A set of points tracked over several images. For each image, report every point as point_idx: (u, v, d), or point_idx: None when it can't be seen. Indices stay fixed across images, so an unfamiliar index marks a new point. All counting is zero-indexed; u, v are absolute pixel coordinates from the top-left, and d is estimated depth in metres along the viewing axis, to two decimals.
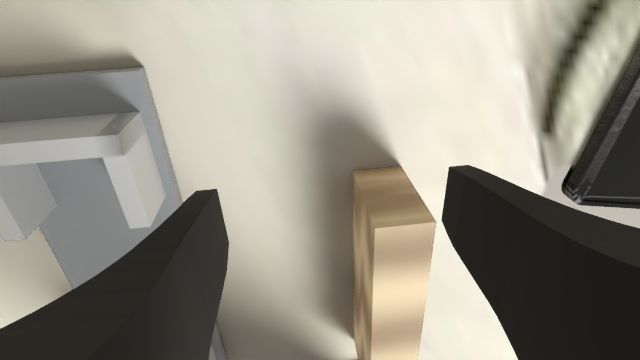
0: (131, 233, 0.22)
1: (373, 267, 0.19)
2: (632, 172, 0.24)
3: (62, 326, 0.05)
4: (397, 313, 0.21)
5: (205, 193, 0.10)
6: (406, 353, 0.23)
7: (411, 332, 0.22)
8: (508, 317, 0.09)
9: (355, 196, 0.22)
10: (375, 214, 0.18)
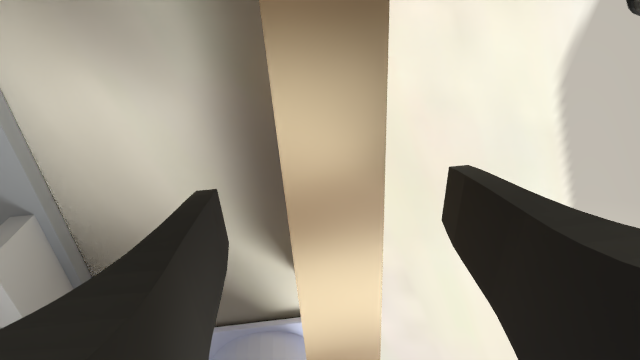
0: None
1: (263, 25, 0.09)
2: None
3: (62, 326, 0.05)
4: (331, 158, 0.10)
5: (205, 193, 0.10)
6: (359, 255, 0.12)
7: (364, 208, 0.11)
8: (508, 317, 0.09)
9: None
10: None
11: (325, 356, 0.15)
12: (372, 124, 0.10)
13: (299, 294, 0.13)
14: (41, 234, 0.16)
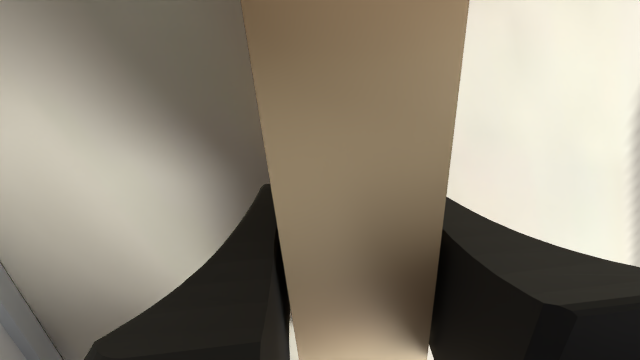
0: None
1: (251, 59, 0.05)
2: None
3: (206, 310, 0.05)
4: (359, 250, 0.07)
5: None
6: None
7: (404, 311, 0.08)
8: None
9: None
10: None
11: None
12: (424, 203, 0.06)
13: None
14: None
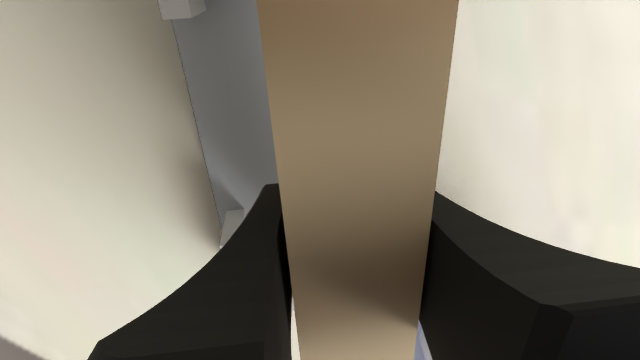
0: None
1: (263, 49, 0.06)
2: None
3: (209, 309, 0.05)
4: (355, 228, 0.07)
5: (277, 186, 0.10)
6: (385, 342, 0.09)
7: (396, 288, 0.08)
8: (428, 327, 0.09)
9: None
10: None
11: None
12: (416, 186, 0.07)
13: None
14: None
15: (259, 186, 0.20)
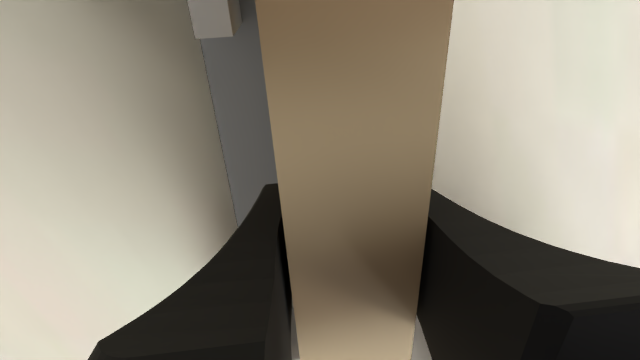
0: None
1: (262, 48, 0.06)
2: None
3: (209, 309, 0.05)
4: (353, 225, 0.08)
5: (277, 186, 0.10)
6: (383, 338, 0.09)
7: (393, 284, 0.09)
8: (428, 327, 0.09)
9: None
10: None
11: None
12: (413, 183, 0.07)
13: None
14: None
15: None
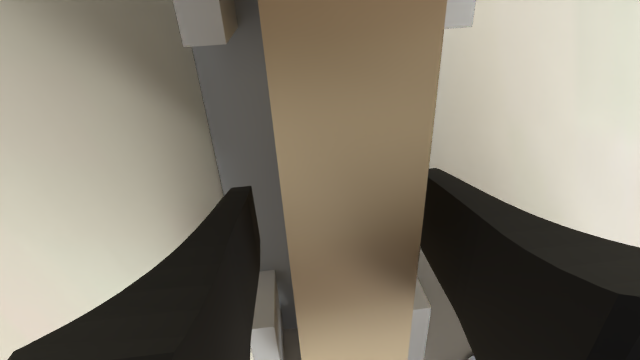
0: None
1: (264, 43, 0.06)
2: None
3: (136, 317, 0.05)
4: (352, 215, 0.08)
5: (241, 190, 0.10)
6: (381, 328, 0.10)
7: (391, 275, 0.09)
8: (468, 322, 0.09)
9: None
10: None
11: None
12: (409, 174, 0.07)
13: None
14: None
15: None
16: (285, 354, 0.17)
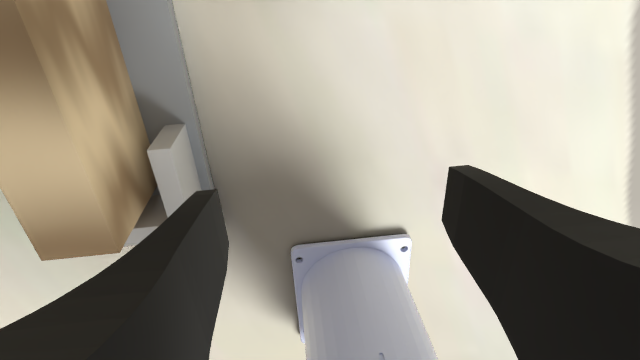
0: None
1: None
2: None
3: (62, 326, 0.05)
4: None
5: (205, 193, 0.10)
6: (31, 106, 0.12)
7: (8, 43, 0.11)
8: (508, 317, 0.09)
9: None
10: None
11: (50, 237, 0.14)
12: None
13: None
14: (189, 142, 0.19)
15: None
16: None
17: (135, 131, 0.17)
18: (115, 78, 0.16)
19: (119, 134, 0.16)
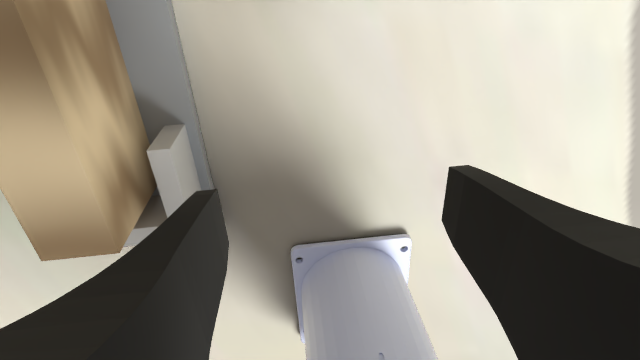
0: None
1: None
2: None
3: (62, 326, 0.05)
4: None
5: (205, 193, 0.10)
6: (31, 107, 0.12)
7: (8, 43, 0.11)
8: (508, 317, 0.09)
9: None
10: None
11: (50, 237, 0.14)
12: None
13: None
14: (188, 142, 0.19)
15: None
16: None
17: (135, 131, 0.17)
18: (115, 79, 0.16)
19: (118, 135, 0.16)
